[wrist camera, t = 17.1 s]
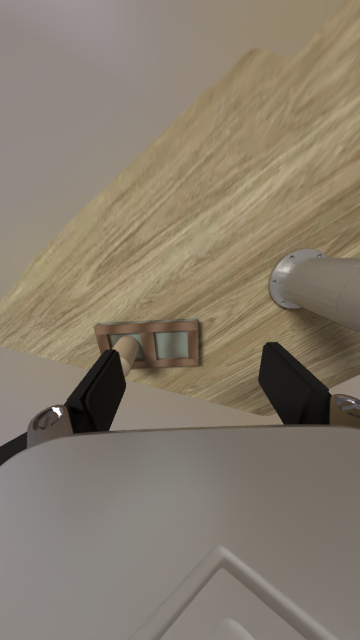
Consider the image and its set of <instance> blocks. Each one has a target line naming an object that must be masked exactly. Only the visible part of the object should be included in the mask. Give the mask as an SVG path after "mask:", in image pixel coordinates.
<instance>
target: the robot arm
mask: <svg viewBox="0 0 360 640" xmlns="http://www.w3.org/2000/svg"><path fill="white" fill-rule="evenodd" d="M269 293H270V295H271V298H272V299H273V300H274V301H275V302H276V303H277V304H278V305H280V306H282V307H285V308H290V309H297V308H305V309H307V310H309V311H311V312H314V313H316V314H318V315H320V316H323V317H325V318H327V319H329V320H332V321H334V322H336V323H338V324H341V325H343V326H345V327H347V328H350V329H352V330H354V331H357V332H359V333H360V259H357V258H327V256H326V255H325V254H324V253H322V252H321V251H319V250H315V249H299V250H295V251H293V252H291V253H289V254H287V255H286V256H284V257H283V258H282V259H281V260H280V261H279V262H278V263H277V264H276V266H275V267H274V269H273V270H272V272H271V275H270V278H269ZM258 381H259V384H260V386H261V387H262V389H263V391H264V392H265V394H266V396H267V397H268V399H269V401H270V402H271V404H272V405H273V407H274V409H275V410H276V412H277V414H278V415H279V417H280V419H281V420H282V422H283V424H284V425H255V426H254V425H251V426H219V427H193V428H192V427H190V428H165V429H140V430H118V431H109V429H110V426H111V424H112V422H113V419H114V417H115V414H116V411H117V409H118V407H119V404H120V402H121V399H122V397H123V394H124V392H125V389H126V382H125V377H124V373H123V368H122V364H121V359H120V355H119V352H118V351H116V350H115V349H108V350H105V351H104V352H103V354H102V355H101V356H100V357H99V359H98V360H97V361H96V363H95V364H94V365H93V367H92V368H91V369H90V370H89V372H88V373H87V374H86V376H85V377H84V378H83V380H82V381H81V382H80V383H79V385H78V386H77V387H76V389H75V390H74V391H73V393H72V394H71V395H70V396H69V398H68V399H67V401H66V403H65V404H64V405H54V406H51V407H48V408H46V409H45V410H43V411H41V412H40V413H38V414H37V415H36V416H35V417H34V418H33V419H32V420H31V421H30V423H29V425H28V429H27V432H26V433H24V434H22V435H20V436H18V437H17V438H15V439H13V440H11V441H9V442H8V443H6V444H4V445H3V446H1V447H0V640H360V400H358V399H356V398H354V397H351V396H348V395H343V394H334V395H333V396H332V395H331V394H330V393H329V392H328V391H329V389H328V388H327V387H326V386H325V385H324V384H323V383H322V382H321V381H319V380H318V379H317V378H316V377H315V376H314V375H313V374H312V373H311V372H310V371H309V370H307V369H306V368H305V367H304V366H303V365H302V364H301V363H300V362H299V361H298V360H297V359H295V358H294V357H293V356H292V355H291V354H290V353H289V352H288V351H287V350H286V349H284V348H283V347H282V346H281V345H280V344H279V343H278V342H268V343H266V345H264V346H263V352H262V358H261V365H260V371H259V378H258Z"/></svg>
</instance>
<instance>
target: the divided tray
mask: <svg viewBox="0 0 360 640" xmlns="http://www.w3.org/2000/svg"><path fill="white" fill-rule="evenodd" d="M94 330H95V334H96V338H97V341H98V345H99V349H100V353H101V355H102V354H103V352H104V351H105V350H108V349H113V347H114V346H115V344H116V343H117V341H118V340H119V339H120V338H122V337H124V336H130V337H133V338H135V339H136V340H137V341H138V343H139V351H138V353H137V356H136V358H135V360H134V363H133V365H132V367H131V368H152V367H176V366H199V362H198V320H197V319H176V320H155V321H134V322H112V323H98V324H96V325H95V326H94Z"/></svg>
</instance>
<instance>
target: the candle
mask: <svg viewBox="0 0 360 640" xmlns="http://www.w3.org/2000/svg"><path fill="white" fill-rule="evenodd" d="M113 349H115V350H116V351H118V352H119V355H120V359H121V364H122V368H123V373H124V377H126V376H127V375H128V374H129V372H130V370H131V367H132V365H133V363H134V360H135V358H136V356H137V353H138V351H139V343H138V341H137V340H136V339H135V338H133V337H130V336H124V337H122V338H120V339H119V340H118V341H117V343H116V344H115V346H114V347H113Z"/></svg>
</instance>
